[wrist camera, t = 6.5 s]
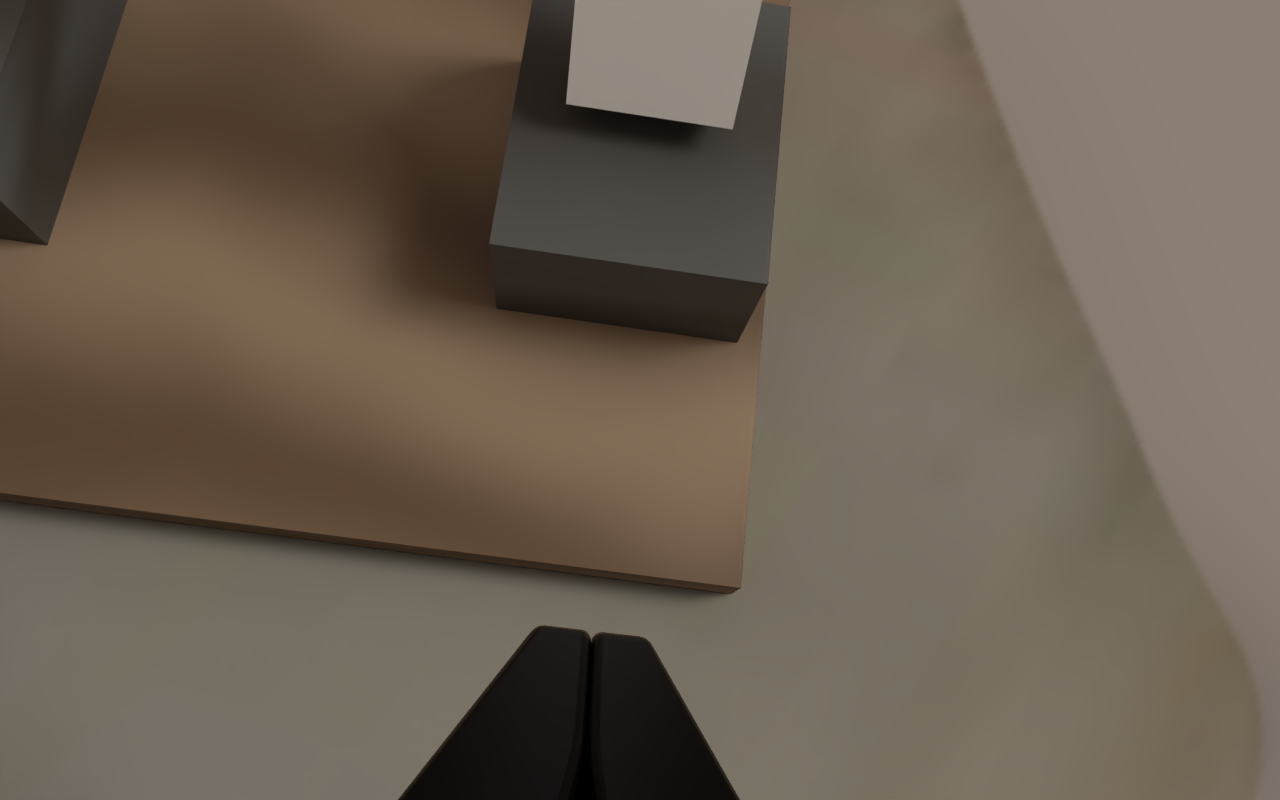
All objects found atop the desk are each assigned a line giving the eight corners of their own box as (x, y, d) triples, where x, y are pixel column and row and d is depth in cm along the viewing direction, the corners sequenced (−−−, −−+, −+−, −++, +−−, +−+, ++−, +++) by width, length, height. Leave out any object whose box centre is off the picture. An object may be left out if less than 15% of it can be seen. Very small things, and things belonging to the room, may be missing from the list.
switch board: (731, 593, 20) (774, 565, 17) (-299, 461, 19) (-505, 400, 16) (780, 18, 25) (824, -110, 21) (-60, -116, 24) (-176, -276, 20)
